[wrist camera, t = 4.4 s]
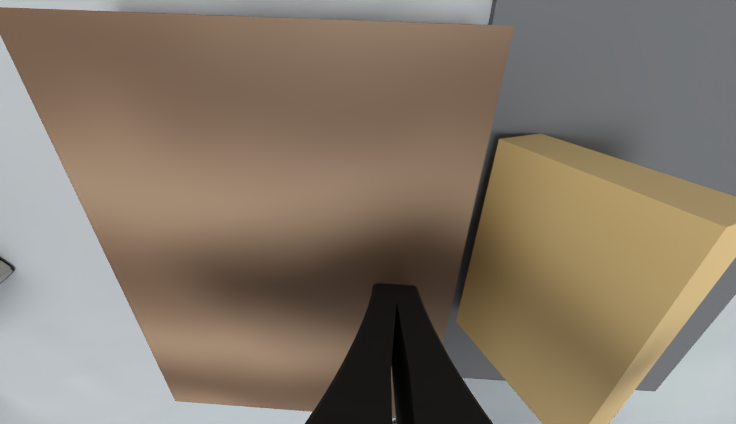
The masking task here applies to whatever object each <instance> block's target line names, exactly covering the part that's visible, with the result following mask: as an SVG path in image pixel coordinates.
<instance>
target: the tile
mask: <svg viewBox="0 0 736 424" xmlns="http://www.w3.org/2000/svg"><path fill="white" fill-rule="evenodd" d="M735 258H736V197H735V196H732V195H729V194H726V193H723V192H720V191H717V190H714V189H710V188H707V187H704V186H701V185H698V184H695V183H692V182H689V181H686V180H683V179H680V178H677V177H674V176H670V175H667V174H664V173H661V172H658V171H655V170H652V169H649V168H646V167H643V166H640V165H637V164H634V163H630V162H627V161H624V160H621V159H618V158H615V157H612V156H609V155H606V154H603V153H600V152H597V151H594V150H590V149H587V148H584V147H581V146H578V145H575V144H572V143H569V142H566V141H563V140H560V139H557V138H554V137H550V136H547V135H544V134H541V133H540V134H532V135H525V136H517V137H510V138H502V139H499V141H498V146H497V150H496V154H495V158H494V163H493V167H492V171H491V175H490V179H489V184H488V188H487V192H486V196H485V201H484V205H483V209H482V213H481V218H480V222H479V226H478V230H477V234H476V239H475V243H474V247H473V251H472V256H471V260H470V264H469V268H468V273H467V277H466V281H465V285H464V290H463V294H462V298H461V302H460V306H459V311H458V315H457V319H456V322H457V323H458V325H459V326H460V327H461V328H462V329H463V330H464V332H465V333H466V334H467V335H468V336H469V338H470V339H471V340H472V341H473V342H474V343H475V345H476V346H477V347H478V348H479V349H480V350H481V352H482V353H483V354H484V355H485V356H486V358H487V359H488V360H489V361H490V362H491V363H492V365H493V366H494V367H495V368H496V369H497V370H498V372H499V373H500V374H501V375H502V376H503V377H504V379H505V380H506V381H507V382H508V383H509V385H510V386H511V387H512V388H513V389H514V390H515V392H516V393H517V394H518V395H519V396H520V397H521V399H522V400H523V401H524V402H525V403H526V404H527V406H528V407H529V408H530V409H531V410H532V412H533V413H534V414H535V415H536V416H537V417H538V419H539V420H540V421H541V422H542V423H543V424H609V423H610V422H611V421H612V419H613V418H614V417H615V415H616V414H617V413H618V411H619V410H620V409H621V407H622V406H623V405H624V403H625V402H626V401H627V400H628V398H629V397H630V396H631V394H632V393H633V392H634V390H635V389H636V388H637V386H638V385H639V384H640V382H641V381H642V380H643V378H644V377H645V376H646V375H647V373H648V372H649V371H650V369H651V368H652V367H653V365H654V364H655V363H656V361H657V360H658V359H659V357H660V356H661V355H662V353H663V352H664V351H665V350H666V348H667V347H668V346H669V344H670V343H671V342H672V340H673V339H674V338H675V336H676V335H677V334H678V332H679V331H680V330H681V329H682V327H683V326H684V325H685V323H686V322H687V321H688V319H689V318H690V317H691V315H692V314H693V313H694V311H695V310H696V309H697V307H698V306H699V305H700V304H701V302H702V301H703V300H704V298H705V297H706V296H707V294H708V293H709V292H710V290H711V289H712V288H713V286H714V285H715V284H716V282H717V281H718V280H719V279H720V277H721V276H722V275H723V273H724V272H725V271H726V269H727V268H728V267H729V265H730V264H731V263H732V261H733V260H734V259H735Z"/></svg>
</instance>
